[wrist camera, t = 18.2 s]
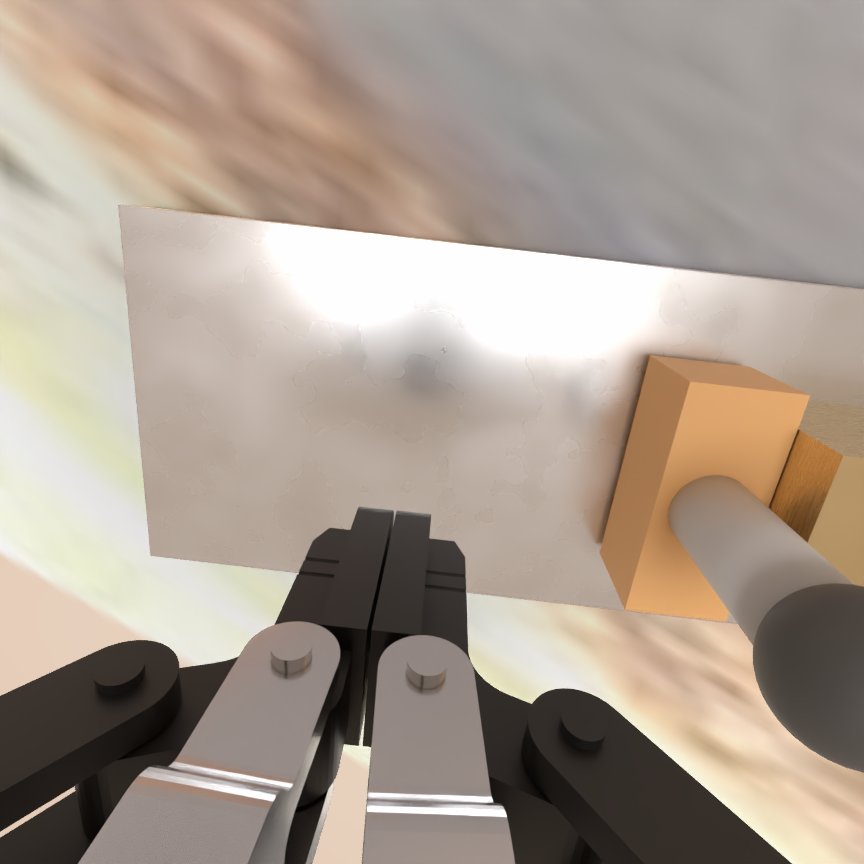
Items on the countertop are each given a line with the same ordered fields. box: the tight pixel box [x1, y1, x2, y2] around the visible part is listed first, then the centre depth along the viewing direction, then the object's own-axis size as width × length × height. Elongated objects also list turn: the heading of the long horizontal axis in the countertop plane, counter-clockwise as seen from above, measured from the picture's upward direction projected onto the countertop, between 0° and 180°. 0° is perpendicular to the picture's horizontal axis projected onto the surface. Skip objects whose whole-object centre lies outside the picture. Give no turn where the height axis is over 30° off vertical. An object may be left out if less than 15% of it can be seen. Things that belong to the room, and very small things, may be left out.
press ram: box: [600, 355, 864, 772], centre depth 13 cm, size 3×7×10 cm, turn 174°
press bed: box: [118, 205, 864, 624], centre depth 17 cm, size 30×12×6 cm, turn 84°
